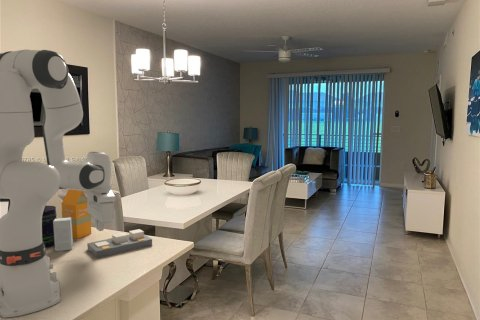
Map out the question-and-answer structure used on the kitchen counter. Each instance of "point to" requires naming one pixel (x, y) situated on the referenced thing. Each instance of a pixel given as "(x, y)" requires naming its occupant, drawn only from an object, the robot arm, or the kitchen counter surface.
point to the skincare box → (63, 234)
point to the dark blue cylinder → (48, 226)
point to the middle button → (119, 238)
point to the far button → (136, 234)
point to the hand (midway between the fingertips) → (100, 230)
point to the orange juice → (77, 213)
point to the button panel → (118, 246)
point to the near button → (101, 244)
